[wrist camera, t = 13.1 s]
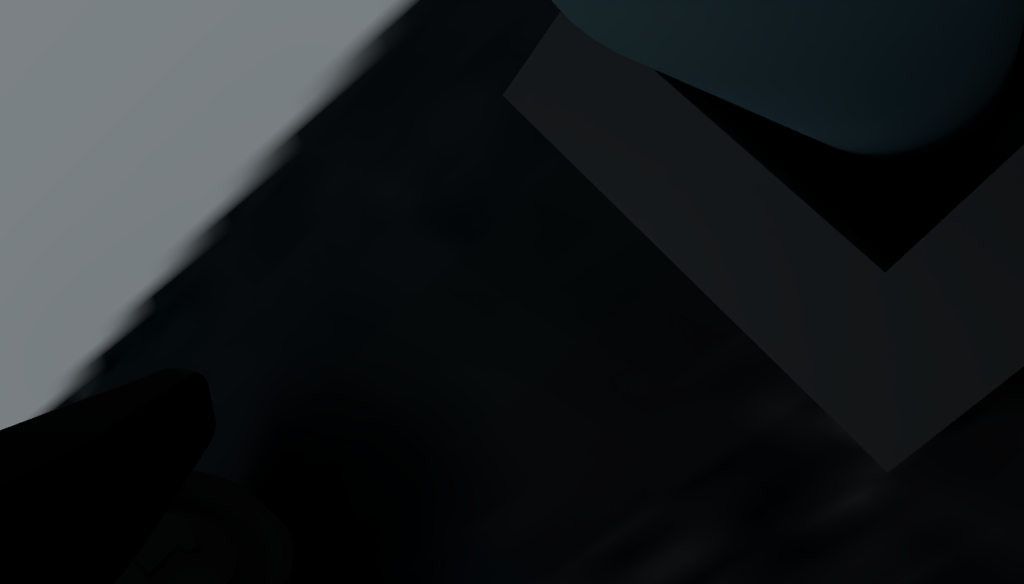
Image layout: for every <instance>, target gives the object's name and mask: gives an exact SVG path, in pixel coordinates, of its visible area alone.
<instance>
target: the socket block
mask: <svg viewBox="0 0 1024 584" xmlns="http://www.w3.org/2000/svg"><path fill="white" fill-rule="evenodd" d="M503 96H504V97H505V98H506V99H507V100H508V101H509V102H510V103H511V104H512V105H513V106H514V107H515V108H516V109H517V110H518V111H519V112H520V113H521V114H522V115H523V116H524V117H525V118H526V119H527V120H528V121H529V122H530V123H531V124H533V125H534V126H535V127H536V128H537V129H538V130H539V131H540V132H541V133H542V134H543V135H544V136H545V137H546V138H547V139H548V140H549V141H550V142H551V143H552V144H553V145H554V146H555V147H556V148H557V149H558V150H559V151H560V152H561V153H562V154H563V155H564V156H565V157H566V158H567V159H568V160H569V161H570V162H571V163H572V164H573V165H574V166H575V167H576V168H577V169H578V170H579V171H580V172H581V173H583V174H584V175H585V176H586V177H587V178H588V179H589V180H590V181H591V182H592V183H593V184H594V185H595V186H596V187H597V188H598V189H599V190H600V191H601V192H602V193H603V194H604V195H605V196H606V197H607V198H608V199H609V200H610V201H611V202H612V203H613V204H614V205H615V206H616V207H617V208H618V209H619V210H620V211H621V212H622V213H623V214H624V215H625V216H626V217H627V218H628V219H629V220H630V221H631V222H633V223H634V224H635V225H636V226H637V227H638V228H639V229H640V230H641V231H642V232H643V233H644V234H645V235H646V236H647V237H648V238H649V239H650V240H651V241H652V242H653V243H654V244H655V245H656V246H657V247H658V248H659V249H660V250H661V251H662V252H663V253H664V254H665V255H666V256H667V257H668V258H669V259H670V260H671V261H672V262H673V263H674V264H675V265H676V266H677V267H678V268H679V269H680V270H681V271H683V272H684V273H685V274H686V275H687V276H688V277H689V278H690V279H691V280H692V281H693V282H694V283H695V284H696V285H697V286H698V287H699V288H700V289H701V290H702V291H703V292H704V293H705V294H706V295H707V296H708V297H709V298H710V299H711V300H712V301H713V302H714V303H715V304H716V305H717V306H718V307H719V308H720V309H721V310H722V311H723V312H724V313H725V314H726V315H727V316H728V317H729V318H730V319H731V320H733V321H734V322H735V323H736V324H737V325H738V326H739V327H740V328H741V329H742V330H743V331H744V332H745V333H746V334H747V335H748V336H749V337H750V338H751V339H752V340H753V341H754V342H755V343H756V344H757V345H758V346H759V347H760V348H761V349H762V350H763V351H764V352H765V353H766V354H767V355H768V356H769V357H770V358H771V359H772V360H773V361H774V362H775V363H776V364H777V365H778V366H779V367H780V368H781V369H783V370H784V371H785V372H786V373H787V374H788V375H789V376H790V377H791V378H792V379H793V380H794V381H795V382H796V383H797V384H798V385H799V386H800V387H801V388H802V389H803V390H804V391H805V392H806V393H807V394H808V395H809V396H810V397H811V398H812V399H813V400H814V401H815V402H816V403H817V404H818V405H819V406H820V407H821V408H822V409H823V410H824V411H825V412H826V413H827V414H828V415H829V416H830V417H831V418H833V419H834V420H835V421H836V422H837V423H838V424H839V425H840V426H841V427H842V428H843V429H844V430H845V431H846V432H847V433H848V434H849V435H850V436H851V437H852V438H853V439H854V440H855V441H856V442H857V443H858V444H859V445H860V446H861V447H862V448H863V449H864V450H865V451H866V452H867V453H868V454H869V455H870V456H871V457H872V458H873V459H874V460H875V461H876V462H877V463H878V464H879V465H880V466H881V467H883V468H884V469H885V470H886V471H887V472H889V471H890V470H892V469H893V468H894V467H895V466H897V465H898V464H899V463H901V462H902V461H903V460H904V459H906V458H907V457H908V456H910V455H911V454H912V453H913V452H915V451H916V450H917V449H919V448H920V447H921V446H922V445H924V444H925V443H926V442H927V441H929V440H930V439H931V438H933V437H934V436H935V435H936V434H938V433H939V432H940V431H942V430H943V429H944V428H945V427H947V426H948V425H949V424H951V423H952V422H953V421H954V420H956V419H957V418H958V417H960V416H961V415H962V414H963V413H965V412H966V411H967V410H969V409H970V408H971V407H972V406H974V405H975V404H976V403H977V402H979V401H980V400H981V399H983V398H984V397H985V396H986V395H988V394H989V393H990V392H992V391H993V390H994V389H995V388H997V387H998V386H999V385H1001V384H1002V383H1003V382H1004V381H1006V380H1007V379H1008V378H1010V377H1011V376H1012V375H1013V374H1015V373H1016V372H1017V371H1018V370H1020V369H1021V368H1022V367H1024V145H1023V146H1022V147H1021V148H1020V149H1018V150H1017V151H1016V152H1015V153H1014V154H1013V155H1012V156H1011V157H1010V158H1009V159H1008V160H1007V161H1005V162H1004V163H1003V164H1002V165H1001V166H1000V167H999V168H998V169H997V170H996V171H995V172H994V173H992V174H991V175H990V176H989V177H988V178H987V179H986V180H985V181H984V182H983V183H982V184H981V185H980V186H978V187H977V188H976V189H975V190H974V191H973V192H972V193H971V194H970V195H969V196H968V197H967V198H965V199H964V200H963V201H962V202H961V203H960V204H959V205H958V206H957V207H956V208H955V209H954V210H952V211H951V212H950V213H949V214H948V215H947V216H946V217H945V218H944V219H943V220H942V221H941V222H940V223H938V224H937V225H936V226H935V227H934V228H933V229H932V230H931V231H930V232H929V233H928V234H927V235H925V236H924V237H923V238H922V239H921V240H920V241H919V242H918V243H917V244H916V245H915V246H914V247H912V248H911V249H910V250H909V251H908V252H907V253H906V254H905V255H904V256H903V257H902V258H901V259H900V258H899V257H898V256H897V255H896V254H895V253H893V252H892V251H891V250H890V249H889V248H888V247H887V246H885V245H884V244H883V243H882V242H881V241H880V240H878V239H877V238H876V237H875V236H874V235H873V234H871V233H870V232H869V231H868V230H867V229H866V228H865V227H863V226H862V225H861V224H860V223H859V222H858V221H856V220H855V219H854V218H853V217H852V216H851V215H849V214H848V213H847V212H846V211H845V210H844V209H842V208H841V207H840V206H839V205H838V204H837V203H836V202H834V201H833V200H832V199H831V198H830V197H829V196H827V195H826V194H825V193H824V192H823V191H822V190H820V189H819V188H818V187H817V186H816V185H815V184H814V183H812V182H811V181H810V180H809V179H808V178H807V177H805V176H804V175H803V174H802V173H801V172H800V171H798V170H797V169H796V168H795V167H794V166H793V165H791V164H790V163H789V162H788V161H787V160H786V159H785V158H783V157H782V156H781V155H780V154H779V153H778V152H776V151H775V150H774V149H773V148H772V147H771V146H769V145H768V144H767V143H766V142H765V141H764V140H763V139H761V138H760V137H759V136H758V135H757V134H756V133H754V132H753V131H752V130H751V129H750V128H749V127H747V126H746V125H745V124H744V123H743V122H742V121H741V120H739V119H738V118H737V117H736V116H735V115H734V114H732V113H731V112H730V111H729V110H728V109H727V108H725V107H724V106H723V105H722V104H721V103H720V102H718V101H717V100H716V99H715V98H714V97H713V96H712V95H710V93H708V92H705V91H703V90H701V89H699V88H696V87H694V86H692V85H689V84H687V83H685V82H683V81H680V80H678V79H676V78H673V77H671V76H669V75H666V74H664V73H662V72H660V71H657V70H655V69H653V68H650V67H648V66H646V65H643V64H641V63H639V62H637V61H634V60H632V59H630V58H627V57H625V56H623V55H621V54H618V53H616V52H615V51H613V50H611V49H609V48H608V47H606V46H604V45H602V44H601V43H599V42H597V41H595V40H594V39H592V38H591V37H590V36H588V35H587V34H586V33H585V32H583V31H582V30H581V29H580V28H578V27H577V26H576V25H575V24H573V23H572V22H571V21H570V20H569V19H568V18H567V17H566V16H565V15H564V13H563V12H562V11H561V12H560V13H559V15H558V16H557V18H556V19H555V21H554V22H553V23H552V25H551V26H550V28H549V29H548V31H547V32H546V34H545V35H544V36H543V38H542V39H541V41H540V42H539V44H538V45H537V47H536V48H535V50H534V51H533V52H532V54H531V55H530V57H529V58H528V60H527V61H526V63H525V64H524V65H523V67H522V68H521V70H520V71H519V73H518V74H517V76H516V77H515V79H514V80H513V81H512V83H511V84H510V86H509V87H508V89H507V90H506V92H505V93H504V95H503Z"/></svg>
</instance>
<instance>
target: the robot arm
mask: <svg viewBox="0 0 1024 584" xmlns="http://www.w3.org/2000/svg"><path fill="white" fill-rule="evenodd" d="M215 425H216V421H215V415H214V411H213V406H212V401H211V396H210V391H209V386H208V382H207V380H206V378H205V377H204V376H203V375H202V374H200V373H197V372H194V371H191V370H188V369H185V368H181V367H176V366H173V367H168V368H165V369H162V370H159V371H157V372H154V373H151V374H149V375H146V376H143V377H141V378H138V379H135V380H133V381H130V382H127V383H125V384H122V385H119V386H117V387H114V388H111V389H109V390H106V391H103V392H101V393H98V394H95V395H93V396H90V397H87V398H85V399H82V400H80V401H77V402H74V403H72V404H69V405H66V406H64V407H61V408H58V409H56V410H53V411H50V412H48V413H45V414H42V415H40V416H37V417H34V418H32V419H29V420H26V421H24V422H21V423H18V424H16V425H13V426H11V427H8V428H5V429H2V430H0V584H114V583H115V582H116V580H117V579H118V578H119V577H120V575H121V574H122V573H123V572H124V570H125V569H126V568H127V566H128V565H129V564H130V563H131V561H132V560H133V559H134V557H135V556H136V555H137V553H138V552H139V551H140V549H141V548H142V547H143V545H144V544H145V542H146V541H147V540H148V538H149V537H150V535H151V534H152V532H153V531H154V529H155V528H156V526H157V525H158V523H159V522H160V520H161V519H162V517H163V515H164V514H165V512H166V511H167V509H168V508H169V506H170V504H171V503H172V501H173V500H174V498H175V497H176V495H177V494H178V492H179V490H180V489H181V487H182V486H183V484H184V483H185V481H186V479H187V478H188V476H189V475H190V473H191V472H192V470H193V469H194V467H195V465H196V464H197V462H198V461H199V459H200V458H201V456H202V454H203V453H204V451H205V450H206V448H207V447H208V445H209V443H210V442H211V440H212V437H213V435H214V431H215Z"/></svg>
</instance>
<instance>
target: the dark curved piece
mask: <svg viewBox="0 0 1024 584" xmlns="http://www.w3.org/2000/svg"><path fill="white" fill-rule="evenodd" d="M292 565H293V544H292V539H291V537H290V534H289V531H288V529H287V528H286V527H285V525H284V524H283V523H282V522H281V521H280V520H279V518H278V517H277V516H276V515H275V514H274V513H273V512H272V511H270V510H269V509H268V508H267V507H266V506H265V505H264V504H263V503H261V502H260V501H259V500H258V499H257V498H255V497H254V496H253V495H251V494H250V493H249V492H247V491H246V490H245V489H243V488H242V487H240V486H239V485H237V484H235V483H233V482H231V481H228V480H226V479H224V478H221V477H219V476H215V475H211V474H207V473H203V472H199V471H193V470H192V472H191V473H190V475H189V476H188V478H187V479H186V481H185V483H184V484H183V486H182V487H181V489H180V490H179V492H178V494H177V495H176V497H175V498H174V500H173V501H172V503H171V504H170V506H169V508H168V509H167V511H166V512H165V514H164V515H163V517H162V519H161V520H160V522H159V523H158V525H157V526H156V528H155V529H154V531H153V532H152V534H151V535H150V537H149V538H148V540H147V541H146V542H145V544H144V545H143V547H142V548H141V549H140V551H139V552H138V553H137V555H136V556H135V557H134V559H133V560H132V561H131V563H130V564H129V565H128V566H127V568H126V569H125V570H124V572H123V573H122V574H121V575H120V577H119V578H118V579H117V580H116V582H115V583H114V584H290V579H291V572H292Z"/></svg>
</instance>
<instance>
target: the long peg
mask: <svg viewBox="0 0 1024 584" xmlns="http://www.w3.org/2000/svg"><path fill="white" fill-rule="evenodd" d="M552 2H553V3H554V4H555V5H556V6H557V7H558V8H559V9H560V10H561V11H562V12H563V13H564V15H565V16H566V17H567V18H568V19H569V20H570V21H571V22H572V23H573V24H575V25H576V26H577V27H578V28H580V29H581V30H582V31H583V32H585V33H586V34H587V35H588V36H590V37H591V38H592V39H594V40H595V41H597V42H599V43H601V44H602V45H604V46H606V47H608V48H609V49H611V50H613V51H615V52H616V53H618V54H621V55H623V56H625V57H627V58H630V59H632V60H634V61H637V62H639V63H641V64H643V65H646V66H648V67H650V68H653V69H655V70H657V71H660V72H662V73H664V74H666V75H669V76H671V77H673V78H676V79H678V80H680V81H683V82H685V83H687V84H689V85H692V86H694V87H696V88H699V89H701V90H703V91H705V92H708V93H710V94H712V95H715V96H717V97H719V98H722V99H724V100H726V101H728V102H731V103H733V104H735V105H738V106H740V107H742V108H744V109H747V110H749V111H751V112H754V113H756V114H758V115H761V116H763V117H765V118H767V119H770V120H772V121H774V122H777V123H779V124H781V125H784V126H786V127H788V128H790V129H793V130H795V131H797V132H800V133H802V134H804V135H806V136H809V137H811V138H813V139H816V140H818V141H820V142H823V143H825V144H827V145H829V146H832V147H834V148H836V149H839V150H841V151H843V152H846V153H848V154H850V155H853V156H855V157H858V158H860V159H863V160H867V161H871V162H875V163H884V164H905V163H913V162H918V161H922V160H927V159H930V158H933V157H936V156H938V155H941V154H943V153H945V152H947V151H949V150H951V149H953V148H955V147H957V146H959V145H960V144H962V143H963V142H965V141H966V140H968V139H969V138H970V137H971V136H973V135H974V134H975V133H976V132H977V131H979V130H980V129H981V128H982V127H983V126H984V125H985V124H986V122H987V121H988V120H989V119H990V118H991V117H992V115H993V114H994V113H995V111H996V110H997V109H998V107H999V105H1000V104H1001V102H1002V100H1003V98H1004V96H1005V95H1006V92H1007V90H1008V87H1009V85H1010V82H1011V78H1012V74H1013V70H1014V66H1015V61H1016V57H1017V52H1018V47H1019V43H1020V38H1021V34H1022V29H1023V24H1024V0H552Z"/></svg>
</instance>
